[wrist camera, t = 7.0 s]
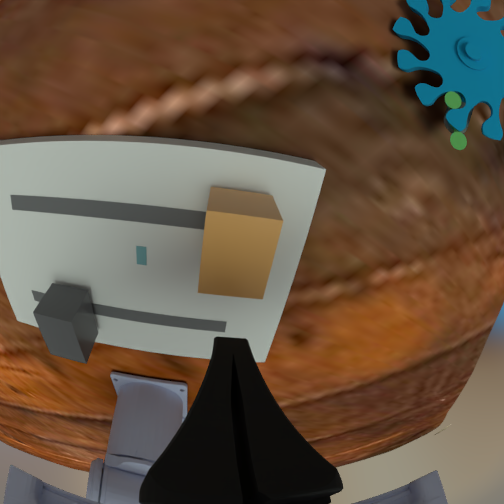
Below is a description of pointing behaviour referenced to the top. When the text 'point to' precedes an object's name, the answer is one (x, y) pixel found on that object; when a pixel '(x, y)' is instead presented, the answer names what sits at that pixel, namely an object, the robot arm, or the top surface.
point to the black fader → (67, 322)
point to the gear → (459, 64)
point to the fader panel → (144, 234)
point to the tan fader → (238, 243)
